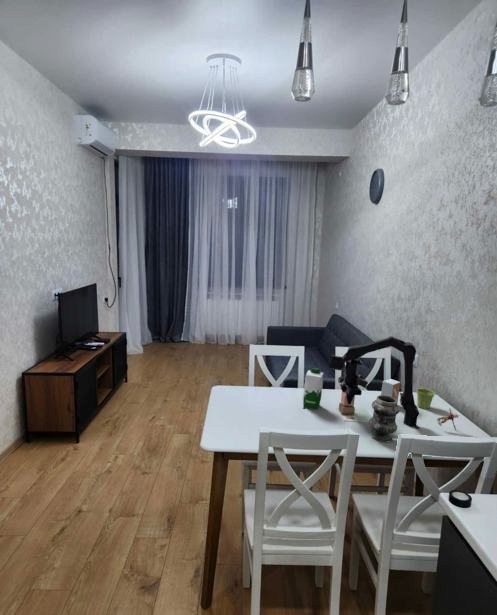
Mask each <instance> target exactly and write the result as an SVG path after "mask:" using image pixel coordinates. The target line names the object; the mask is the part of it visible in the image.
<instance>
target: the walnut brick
mask: <svg viewBox="0 0 497 615" xmlns="http://www.w3.org/2000/svg"><path fill="white" fill-rule="evenodd" d="M338 408H339V411H340V413H341V414H342V415H350V416H354V412H355V408H356V407H355V405H354V406H349V405H343V404H342V402H339V404H338Z"/></svg>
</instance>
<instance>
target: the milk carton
mask: <svg viewBox="0 0 497 615" xmlns="http://www.w3.org/2000/svg"><path fill="white" fill-rule="evenodd" d="M323 382H324V372H321V370H320V367H311V370H307V372H306V374H305V379H304V388H303V397H302V398H303V400H302V401H303V403H302V404H303V407H302V408H303V409H304V410H306V409H309V410H310V409H311V410H318V409H319V407H320V405H321V404H320V403H321V400H322V393H323V385H324V383H323Z"/></svg>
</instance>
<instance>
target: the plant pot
mask: <svg viewBox="0 0 497 615" xmlns="http://www.w3.org/2000/svg"><path fill="white" fill-rule="evenodd" d="M416 394H417V397H416V398H417V399H416V401H417V402H416V403H417V404H416V406H417V408H418V407H419V408H421V409H423V410H424V409H425V410H429V409H430V407H431V404H432V403H433V402H432V401H433V398H434V396H436V392H434V391H433V390H431V389H427V388H422V387H421V388H417V389H416Z"/></svg>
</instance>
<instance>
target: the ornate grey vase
mask: <svg viewBox="0 0 497 615" xmlns="http://www.w3.org/2000/svg"><path fill="white" fill-rule="evenodd" d="M371 408H372V409H373V414H372V418H371V419H370V420H369V422H368V425H369V427H370V428H371V430H373V431H372V432H371V433H370V434H371V436H372V437H371V438H372V439H373V440H374V441H377V442H378V441H379V442H381V441H382V442H381V443H388V442H387V441H391V440H392V441H393V439H392V438H393V436H392V435H391V434H394V433H396V432H397V431H398V425H397V423H396V418H397V415H398V414H399V413H400V412H401V408H400V405H399V404H398V403H397V400H396V399H395V398H393V397H390V396H386V395H381V394H380V395H377V396H376V399H375V400H373V401H372V403H371ZM392 441H391V442H392Z"/></svg>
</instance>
